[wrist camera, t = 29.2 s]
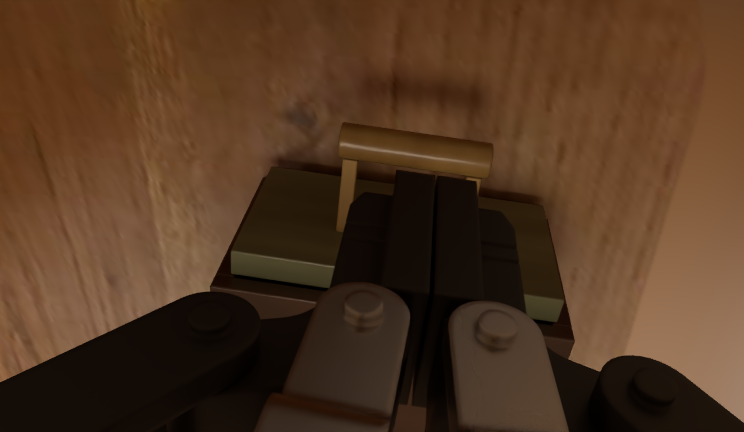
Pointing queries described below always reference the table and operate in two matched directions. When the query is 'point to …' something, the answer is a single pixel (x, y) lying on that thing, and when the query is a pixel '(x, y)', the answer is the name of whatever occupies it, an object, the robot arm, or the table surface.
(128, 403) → the robot arm
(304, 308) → the cabinet
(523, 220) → the drawer
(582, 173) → the table surface
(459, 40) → the table surface
